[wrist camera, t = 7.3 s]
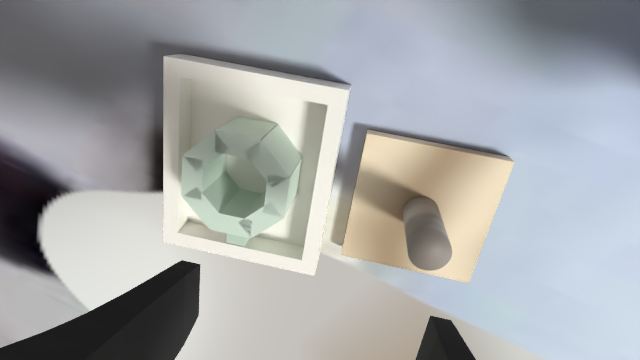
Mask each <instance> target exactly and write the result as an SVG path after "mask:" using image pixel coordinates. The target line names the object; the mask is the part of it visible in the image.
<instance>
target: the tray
mask: <svg viewBox="0 0 640 360" xmlns="http://www.w3.org/2000/svg"><path fill="white" fill-rule="evenodd" d="M350 90H351V85H349V84H343V83H338V82H332V81H327V80H322V79H316V78H311V77H305V76H300V75H294V74H289V73H284V72H278V71H273V70H267V69H262V68H257V67H251V66H246V65H240V64H235V63H230V62H224V61H219V60H213V59H208V58H202V57H197V56H192V55H186V54H176V55H168V56H163V242H165V243H170V244H174V245H179V246H183V247H188V248H192V249H197V250H201V251H205V252H210V253H215V254H219V255H223V256H228V257H233V258H237V259H241V260H246V261H250V262H255V263H259V264H264V265H268V266H273V267H277V268H282V269H286V270H290V271H295V272H299V273H304V274H309V275H313V276H314V275H315V271H316V267H317V264H318V260H319V255H320V250H321V245H322V239H323V234H324V229H325V223H326V218H327V213H328V207H329V202H330V197H331V191H332V186H333V181H334V176H335V170H336V165H337V160H338V154H339V149H340V144H341V138H342V133H343V128H344V122H345V117H346V112H347V106H348V101H349V96H350ZM238 116H241V117H247V118H252V119H257V120H262V121H267V122H272V123H277V125H278V124H279V125H280V127H281V128H282V130H283V131H284V132H285V134H286V135H287V136H288V138H289V139H290V140H291V142H292V143H293V144H294V146H295V147H296V148H297V150H298V151H299V153H300V154H301V155H302V163H301V170H300V177H299V184H298V190H297V194H296V196H295V198H294V200H293V201H292V203H291V205H290V207H289V209H288V211H287V213H286V215H285V217H284V219H282V220H281V221H279V222H277V223H276V224H274V225H272V226H271V227H269V228H268V229H266V230H264V231H263V232H261V233H259V234H258V235H256V236H254V237H253V238H250V239H249V241H248V242H247V244H246V245H245V246H240V245H236V244H231V243H226V239H227V233H223V232H218V231H213V230H210V229H209V228H208V227H207V226H206V225H205V224H204V223H203V221H202V220H201V219H200V218H199V217H198V215H197V214H196V213H195V212H194V211H193V210H192V208H191V207H190V206H189V205H188V204H187V203H186V201H185V200H184V199H183V198H182V196H181V186H182V156H183V154H184V153H186V152H187V151H188V150H190V149H191V148H192V147H194V146H195V145H196V144H198V143H199V142H200V141H201V140H203V139H204V138H205V137H207V136H208V135H209V134H211V133H212V132H213V131H215V130H216V129H218V128H220V127H221V126H223V125H225V124H226V123H228V122H229V121H231V120H233V119H234V118H236V117H238ZM226 172H227V173H228V174H229V176H230V177H231V178H232V179H233V181H234V182H235V183H236V184H237V186H238V187H239V188H240V189H243V190H248V191H253V192H257V193H264V192H265V191H266V186H267V181H266V179H265V178H264V177H263V176H262V174H261V173H260V172H259V170H258V169H257V168H256V167H255V165H254V164H253V163H252V161H251V160H250V159H246V158H241V157H236V156H231V155H227V160H226Z"/></svg>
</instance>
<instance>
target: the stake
mask: <svg viewBox="0 0 640 360" xmlns="http://www.w3.org/2000/svg"><path fill="white" fill-rule="evenodd" d="M513 165H514V161H513V160H512V159H511V158H510V157H507V156H502V155H497V154H492V153H486V152H481V151H476V150H471V149H466V148H461V147H455V146H450V145H445V144H440V143H435V142H429V141H424V140H419V139H414V138H409V137H404V136H398V135H393V134H388V133H383V132H378V131H372V130H367V134H366V139H365V144H364V148H363V153H362V158H361V162H360V167H359V172H358V177H357V181H356V186H355V191H354V195H353V200H352V205H351V209H350V214H349V219H348V223H347V228H346V233H345V237H344V242H343V247H342V253H341V255H343V256H348V257H352V258H357V259H361V260H366V261H371V262H375V263H380V264H384V265H389V266H393V267H398V268H403V269H407V270H412V271H416V272H421V273H425V274H430V275H435V276H439V277H444V278H448V279H453V280H457V281H462V282H467V283H469V281H470V278H471V276H472V273H473V270H474V268H475V265H476V263H477V260H478V257H479V255H480V252H481V249H482V247H483V244H484V241H485V239H486V236H487V234H488V231H489V228H490V226H491V223H492V220H493V218H494V215H495V212H496V210H497V207H498V205H499V202H500V199H501V197H502V194H503V191H504V189H505V186H506V183H507V181H508V178H509V176H510V173H511V170H512V168H513Z"/></svg>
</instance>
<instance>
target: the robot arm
mask: <svg viewBox="0 0 640 360" xmlns="http://www.w3.org/2000/svg"><path fill="white" fill-rule="evenodd" d="M199 283H200V264H196V263H191V262H186V261H180V262H178V263H176V264H174V265H173V266H171V267H169V268H168V269H166V270H164V271H162V272H161V273H159V274H158V275H156V276H154V277H152V278H151V279H149V280H147V281H146V282H144V283H142V284H140V285H138V286H137V287H135V288H133V289H131V290H130V291H128V292H126V293H124V294H123V295H121V296H119V297H117V298H115V299H113V300H111V301H109V302H107V303H105V304H103V305H102V306H100V307H97V308H96V309H94V310H92V311H90V312H88V313H86V314H84V315H81V316H79V317H77V318H75V319H73V320H71V321H68V322H66V323H64V324H61V325H59V326H57V327H54V328H52V329H50V330H47V331H45V332H42V333H40V334H37V335H35V336H32V337H29V338H26V339H24V340H21V341H18V342H15V343H13V344H10V345H7V346H5V347H2V348H0V360H174V359H175V358H176V356H177V355H178V353H179V351H180V350H181V348H182V347H183V345H184V343H185V341H186V339H187V338H188V335H189V334H190V332H191V330H192V328H193V326H194V323H195V322H196V319H197V317H198V314H199ZM416 360H476V359H475V358H474V356H473V354H472V353H471V351H470V350H469V348H468V347H467V345H466V343H465V342H464V340H463V338H462V337H461V335H460V334H459V332H458V330H457V329H456V327H455V326H454V325H453V323H452V321H451V320H447V319H442V318H438V317H434V316H430V318H429V322H428V324H427V327H426V331H425V334H424V336H423V339H422V342H421V345H420V348H419V351H418V354H417V357H416Z"/></svg>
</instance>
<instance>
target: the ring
mask: <svg viewBox="0 0 640 360" xmlns="http://www.w3.org/2000/svg"><path fill="white" fill-rule="evenodd" d="M227 155H231V156H236V157H241V158H246V159H250V160H251V161H252V163H253V164H254V165H255V167H256V168H257V169H258V170H259V172H260V173H261V174H262V176H263V177H264V178H265V179H266V181H267V186H266V191H265V192H264V193H257V192H253V191H248V190H243V189H240V188H239V187H238V186H237V184H236V183H235V182H234V181H233V179H232V178H231V177H230V176H229V174H228V173H227V172H226V160H227ZM301 163H302V155H301V154H300V153H299V151H298V150H297V148H296V147H295V146H294V144H293V143H292V142H291V140H290V139H289V138H288V136H287V135H286V134H285V132H284V131H283V130H282V128H281V127H280V125H279V124H278V125H277V123H272V122H267V121H262V120H257V119H252V118H247V117H241V116H238V117H236V118H234V119H233V120H231V121H229V122H228V123H226V124H225V125H223V126H221V127H220V128H218V129H216V130H215V131H213V132H212V133H211V134H209V135H208V136H207V137H205V138H204V139H203V140H201V141H200V142H199V143H198V144H196V145H195V146H194V147H192V148H191V149H190V150H188V151H187V152H186V153H184V154H183V156H182V186H181V196H182V198H183V199H184V200H185V201H186V203H187V204H188V205H189V206H190V207H191V208H192V210H193V211H194V212H195V213H196V214H197V215H198V217H199V218H200V219H201V220H202V221H203V223H204V224H205V225H206V226H207V227H208V228H209V229H210V230H213V231H218V232H223V233H227V239H226V243H231V244H236V245H240V246H245V245H246V244H247V242H248V241H249V239H250V238H253V237H254V236H256V235H258V234H259V233H261V232H263V231H264V230H266V229H268V228H269V227H271V226H272V225H274V224H276V223H277V222H279V221H281V220H282V219H284V217H285V215H286V213H287V211H288V209H289V207H290V205H291V203H292V201H293V200H294V198H295V196H296V194H297V190H298V184H299V177H300V170H301Z"/></svg>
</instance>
